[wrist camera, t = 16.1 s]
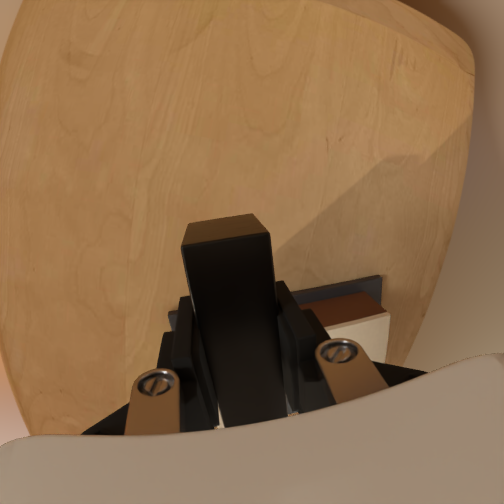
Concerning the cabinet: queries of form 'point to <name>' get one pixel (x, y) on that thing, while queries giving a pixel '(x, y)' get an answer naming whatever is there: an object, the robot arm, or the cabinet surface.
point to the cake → (346, 314)
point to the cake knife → (237, 315)
